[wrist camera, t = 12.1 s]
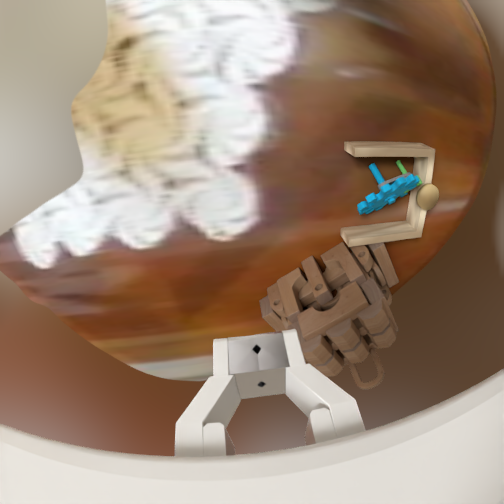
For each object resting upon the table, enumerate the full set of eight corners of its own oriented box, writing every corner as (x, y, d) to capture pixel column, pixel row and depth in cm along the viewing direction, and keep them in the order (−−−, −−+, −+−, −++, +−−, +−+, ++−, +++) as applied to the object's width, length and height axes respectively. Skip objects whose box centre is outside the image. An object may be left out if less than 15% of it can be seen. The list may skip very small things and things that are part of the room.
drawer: (344, 141, 35) (357, 149, 31) (428, 143, 35) (445, 151, 32) (340, 234, 43) (350, 250, 39) (416, 225, 43) (430, 238, 40)
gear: (352, 225, 40) (375, 200, 31) (334, 190, 42) (351, 157, 32) (408, 201, 41) (438, 174, 31) (391, 169, 42) (415, 137, 32)
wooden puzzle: (367, 220, 42) (433, 300, 27) (392, 277, 49) (441, 352, 34) (250, 291, 47) (265, 391, 32) (293, 334, 55) (314, 419, 39)
